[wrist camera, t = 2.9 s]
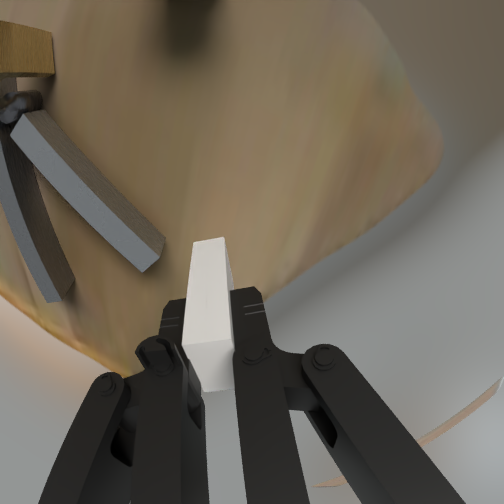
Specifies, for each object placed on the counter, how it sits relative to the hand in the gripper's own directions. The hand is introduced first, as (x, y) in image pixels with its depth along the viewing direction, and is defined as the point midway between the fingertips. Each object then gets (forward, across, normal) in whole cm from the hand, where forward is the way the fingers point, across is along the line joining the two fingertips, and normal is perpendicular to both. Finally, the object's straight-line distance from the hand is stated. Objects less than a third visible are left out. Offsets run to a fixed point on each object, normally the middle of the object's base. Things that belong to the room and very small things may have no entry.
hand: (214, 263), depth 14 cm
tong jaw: (+8, -9, +4) cm, 13 cm away
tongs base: (+9, -15, +6) cm, 18 cm away
